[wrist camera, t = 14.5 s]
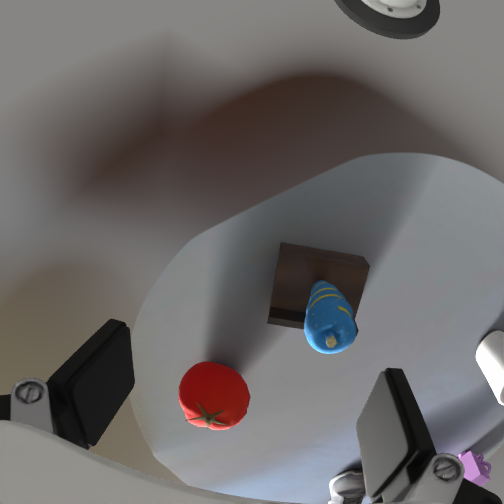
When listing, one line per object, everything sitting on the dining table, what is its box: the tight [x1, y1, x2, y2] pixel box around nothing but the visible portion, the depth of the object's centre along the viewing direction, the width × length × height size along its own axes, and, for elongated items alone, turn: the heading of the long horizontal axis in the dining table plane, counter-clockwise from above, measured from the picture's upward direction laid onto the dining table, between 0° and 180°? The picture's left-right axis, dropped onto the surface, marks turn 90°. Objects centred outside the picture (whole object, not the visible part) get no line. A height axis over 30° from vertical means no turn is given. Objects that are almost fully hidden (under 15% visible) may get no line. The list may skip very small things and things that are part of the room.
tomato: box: [179, 362, 250, 430], centre depth 45 cm, size 12×12×11 cm
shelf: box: [267, 243, 370, 336], centre depth 40 cm, size 9×12×7 cm
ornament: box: [304, 280, 357, 354], centre depth 32 cm, size 5×5×15 cm
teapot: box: [458, 451, 491, 486], centre depth 48 cm, size 20×10×12 cm, turn 141°
